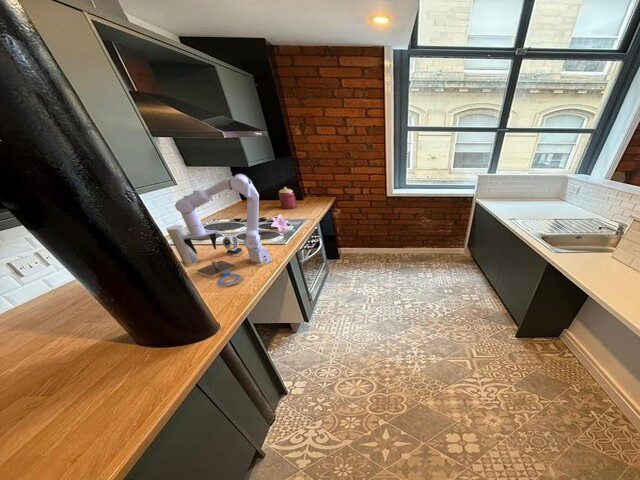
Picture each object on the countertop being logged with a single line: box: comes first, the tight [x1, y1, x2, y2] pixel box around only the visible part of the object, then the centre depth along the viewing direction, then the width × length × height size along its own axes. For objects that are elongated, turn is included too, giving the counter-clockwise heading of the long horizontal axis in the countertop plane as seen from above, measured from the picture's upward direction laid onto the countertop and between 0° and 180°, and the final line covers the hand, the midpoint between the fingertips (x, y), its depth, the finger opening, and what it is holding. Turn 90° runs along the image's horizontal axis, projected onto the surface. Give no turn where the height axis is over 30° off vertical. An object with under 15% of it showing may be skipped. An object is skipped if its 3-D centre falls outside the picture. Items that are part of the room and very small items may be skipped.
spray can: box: [166, 224, 199, 265], centre depth 125 cm, size 6×6×20 cm
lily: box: [270, 213, 290, 233], centre depth 173 cm, size 12×12×10 cm
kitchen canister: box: [278, 186, 298, 210], centre depth 218 cm, size 13×13×18 cm
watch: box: [222, 235, 243, 255], centre depth 137 cm, size 6×8×11 cm
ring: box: [217, 269, 242, 288], centre depth 116 cm, size 12×9×3 cm
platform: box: [196, 260, 237, 277], centre depth 123 cm, size 12×12×5 cm
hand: (205, 250), depth 122 cm, fingers open, 7 cm apart
